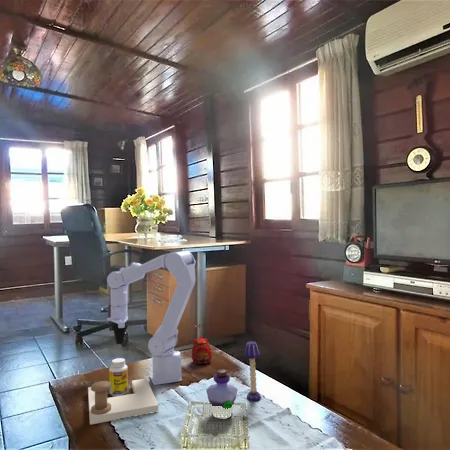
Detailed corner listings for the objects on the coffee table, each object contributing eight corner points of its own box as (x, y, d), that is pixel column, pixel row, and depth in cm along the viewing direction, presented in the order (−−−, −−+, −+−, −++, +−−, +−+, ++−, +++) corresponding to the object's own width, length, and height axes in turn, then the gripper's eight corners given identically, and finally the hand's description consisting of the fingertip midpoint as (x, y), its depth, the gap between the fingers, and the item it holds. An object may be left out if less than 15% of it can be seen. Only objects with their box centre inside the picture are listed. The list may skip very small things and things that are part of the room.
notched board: (146, 384, 125) (146, 357, 126) (158, 412, 107) (158, 380, 107) (88, 393, 119) (87, 365, 119) (89, 424, 100) (89, 391, 100)
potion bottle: (222, 426, 99) (222, 379, 99) (199, 415, 105) (199, 371, 105) (244, 414, 105) (243, 370, 105) (221, 404, 111) (221, 362, 111)
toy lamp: (249, 403, 112) (249, 345, 112) (241, 396, 116) (241, 341, 116) (263, 399, 114) (263, 343, 114) (255, 393, 118) (254, 339, 118)
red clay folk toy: (193, 366, 142) (192, 325, 142) (190, 359, 148) (190, 321, 148) (213, 364, 143) (213, 324, 143) (209, 358, 150) (209, 319, 150)
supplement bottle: (111, 398, 116) (111, 364, 116) (107, 391, 120) (107, 359, 120) (130, 394, 118) (129, 361, 118) (125, 387, 123) (124, 355, 123)
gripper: (105, 302, 141) (106, 339, 141) (109, 310, 128) (109, 351, 128) (125, 300, 144) (125, 336, 144) (130, 308, 130) (131, 348, 130)
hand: (119, 343), depth 136 cm, fingers closed
